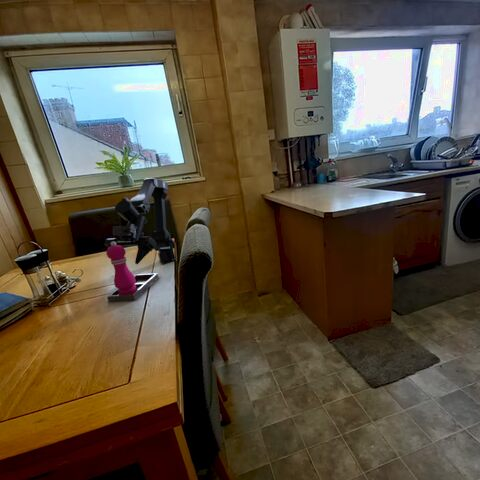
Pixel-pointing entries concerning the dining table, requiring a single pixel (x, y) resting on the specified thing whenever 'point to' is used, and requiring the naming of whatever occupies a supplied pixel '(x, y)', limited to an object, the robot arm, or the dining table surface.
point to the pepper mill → (121, 270)
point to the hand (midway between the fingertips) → (125, 264)
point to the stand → (141, 283)
